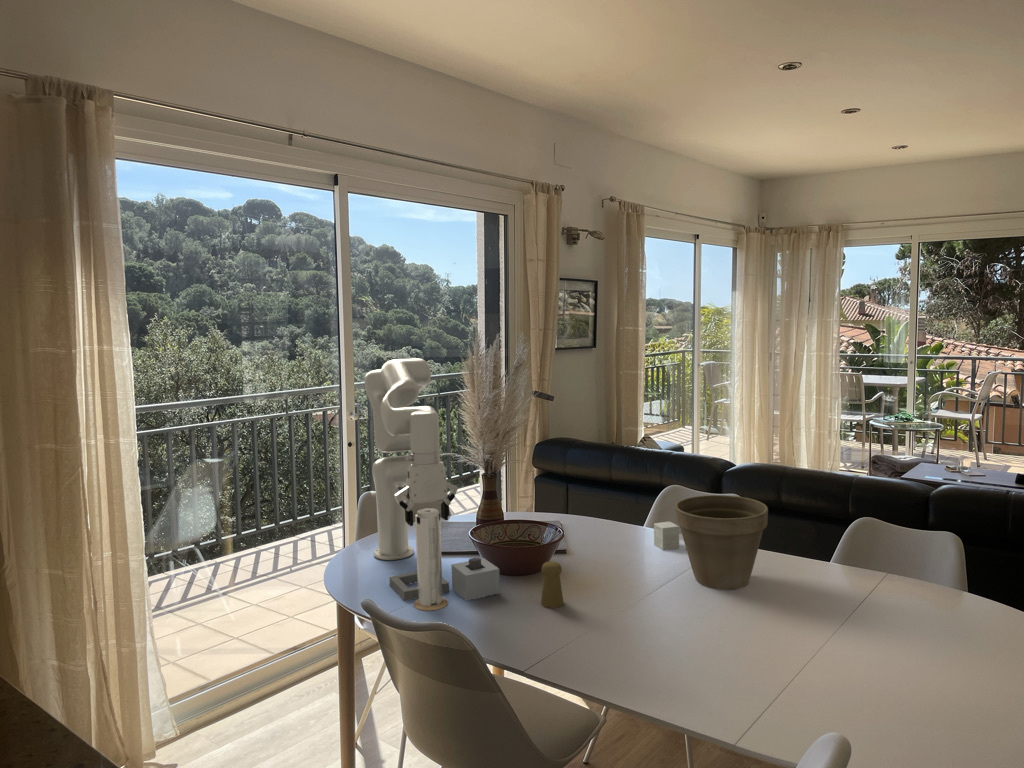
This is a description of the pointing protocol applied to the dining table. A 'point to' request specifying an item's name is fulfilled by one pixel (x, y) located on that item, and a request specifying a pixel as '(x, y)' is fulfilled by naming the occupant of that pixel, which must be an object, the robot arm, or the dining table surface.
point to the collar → (401, 580)
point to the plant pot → (721, 537)
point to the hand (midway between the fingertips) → (427, 521)
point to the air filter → (429, 557)
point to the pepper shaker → (551, 585)
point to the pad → (430, 607)
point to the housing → (475, 580)
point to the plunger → (474, 563)
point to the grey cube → (666, 535)
